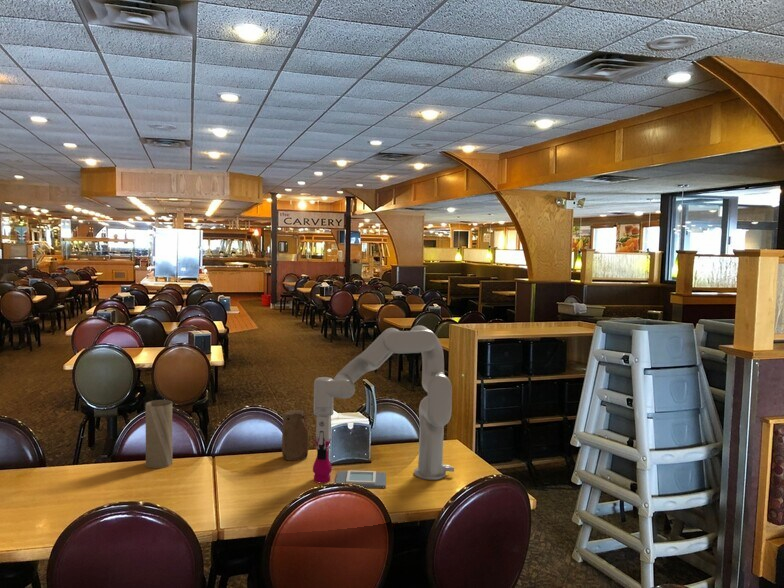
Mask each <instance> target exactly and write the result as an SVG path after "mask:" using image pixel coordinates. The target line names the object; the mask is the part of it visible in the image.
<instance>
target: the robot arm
mask: <svg viewBox="0 0 784 588" xmlns="http://www.w3.org/2000/svg"><path fill="white" fill-rule="evenodd" d="M417 353H421V361H422V366H421V367H422V368H421V369H422V370H421V373H422V374H421V386H422V388H423V390H424V391H425V392H426V393H427V395H426V396H424V397H423V398H422V399H421V401H420V403H419V406H418V415H419V417H418V418H419V419H418V420H419V436H418V438H419V439H418V440H419V441H418V461H417V462H418V464H417V465H418V467H415V469H414V472H413V473H414V475H415V477H417V478H419V479H421V480H426V481H427V480H428V481H437V480H441V479H444V478H445V477H446V474H447V472H450V473H453V472H455V467H454V466H451V464H444V461H443V455H444V454H443V453H444V452H443V451H444V436H445V435H444V430H445V429H444V427H445V426H446V425H447V424H449V422H450V420H451V417H452V409H453V407H452V406H453V404H452V403H453V388H452V382H451V380H450V378H449V377H448V376H447V375H445V357H444V348H443V345H442V343H441V341H440V340H439V337H438V336H437V335H436V334H435V332H433V331H432V330H431V329H429V328H428V327H426V326H424V325H420V324H419V325H414V326H413V327H412V328H411V329H410V330H399V329H397V328H396V327H395V328H394V327H389V328H386V329H385V330H384V331H383V332H381V334H379V335H378V336H377V337H376V338H375V339H374V341H373V342H371V344H369V346H368V347H366V348H365V350H363V351H362V352H361V353H360V354H358V355H357V356H355V358H353V359H352V360H349V362H348V363H347V364H346V365H345V366H343V368H342V369H340V370H339V372H337V374H336V375H335V376H334V377H333V378H332V377H328V376H320V377H316V378H315V379H314V383H313V415H314V416H316V421H315V422H316V423H315V424H316V425H315V437H316V441H317V442H318V453H316V458H317V459H320V460H325V459H326V449H325V448H326V441H327V442H329V441H330V438H331V437H332V416H333V415H334V401H335V400H334V399H335V398H336V399H349V398H352V397H353V396H354V394H355V393H356V386H355V382H356V381H358V380H359V379H360V378H361V377H362V376H363V375H365V374H366V373H368V372H371V371H376V370H377V369H379V368H380V367H381V366H382V365H383V364H384V363H385V362H386V361H387V360H388V359H389V358H390V357H391V356H392V355H393V354H417ZM323 439H325V441H323ZM323 443H324V444H323Z"/></svg>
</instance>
